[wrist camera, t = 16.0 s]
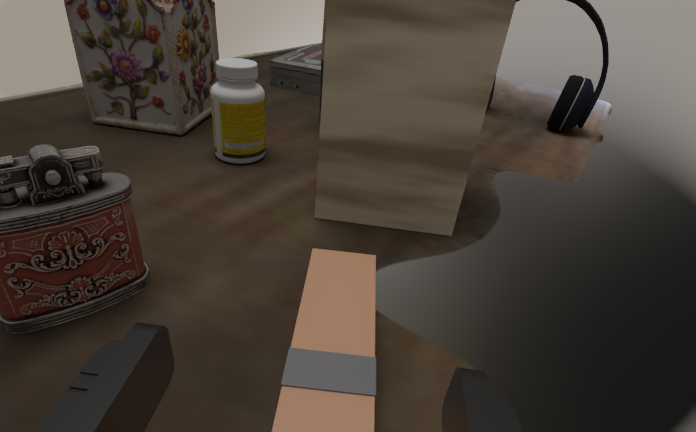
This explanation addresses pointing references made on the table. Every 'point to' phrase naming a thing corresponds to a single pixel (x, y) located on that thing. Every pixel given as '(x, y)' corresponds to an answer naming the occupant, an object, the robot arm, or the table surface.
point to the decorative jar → (146, 61)
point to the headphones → (577, 86)
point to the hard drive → (298, 70)
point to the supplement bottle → (238, 112)
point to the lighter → (64, 238)
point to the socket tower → (404, 108)
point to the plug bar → (332, 348)
